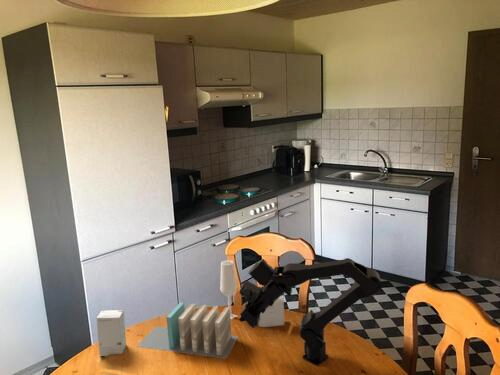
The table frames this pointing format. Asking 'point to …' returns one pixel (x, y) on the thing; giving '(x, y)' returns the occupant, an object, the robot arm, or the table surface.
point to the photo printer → (273, 314)
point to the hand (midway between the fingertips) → (240, 320)
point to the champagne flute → (228, 282)
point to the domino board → (161, 342)
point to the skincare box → (111, 332)
